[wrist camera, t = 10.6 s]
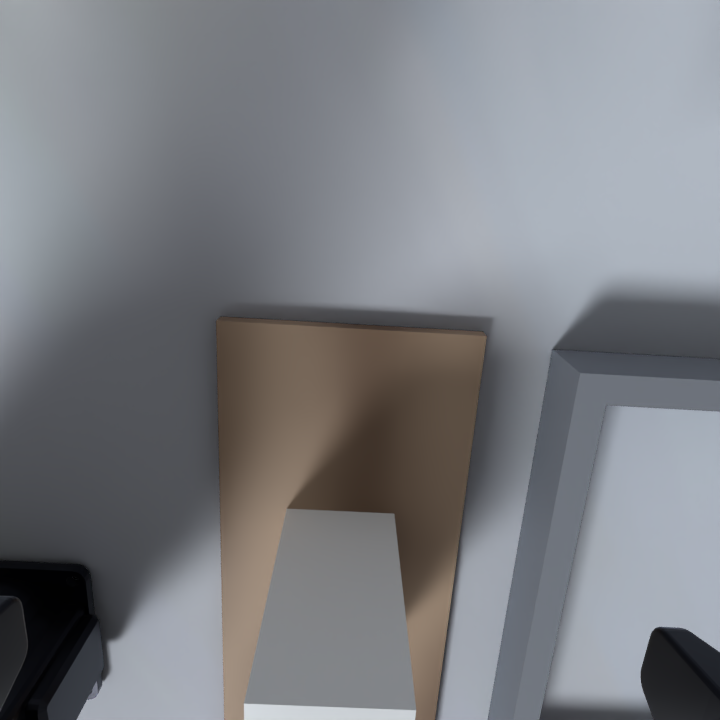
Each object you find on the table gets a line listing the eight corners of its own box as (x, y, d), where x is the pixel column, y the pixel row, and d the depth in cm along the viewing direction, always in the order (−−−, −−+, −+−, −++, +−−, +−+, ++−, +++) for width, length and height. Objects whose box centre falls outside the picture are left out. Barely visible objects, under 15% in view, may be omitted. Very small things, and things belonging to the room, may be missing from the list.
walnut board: (228, 748, 25) (225, 761, 24) (220, 316, 19) (216, 320, 18) (426, 755, 25) (428, 769, 24) (482, 331, 19) (486, 336, 18)
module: (282, 637, 22) (244, 875, 15) (285, 508, 20) (241, 703, 13) (384, 641, 22) (398, 880, 15) (395, 513, 20) (418, 710, 13)
